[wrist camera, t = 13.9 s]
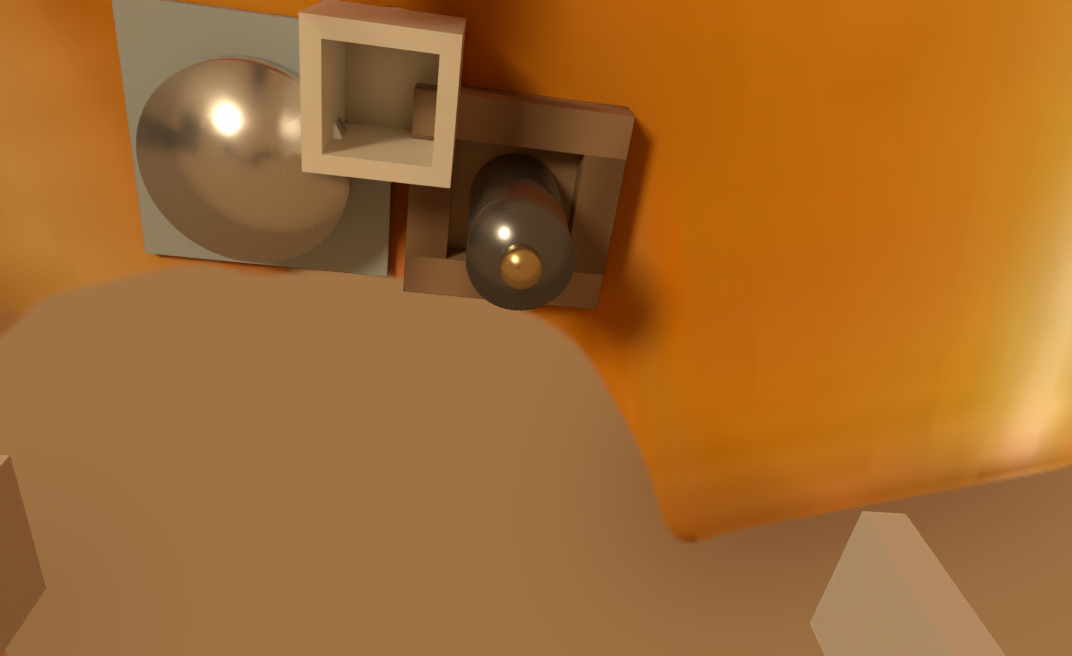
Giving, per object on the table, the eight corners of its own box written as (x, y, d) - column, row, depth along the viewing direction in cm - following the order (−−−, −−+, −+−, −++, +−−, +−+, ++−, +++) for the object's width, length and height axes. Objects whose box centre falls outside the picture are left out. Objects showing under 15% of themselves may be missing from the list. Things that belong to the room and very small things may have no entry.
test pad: (161, 240, 35) (149, 252, 33) (137, 40, 30) (121, 46, 29) (353, 259, 36) (348, 271, 34) (356, 69, 31) (350, 75, 30)
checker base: (149, 249, 37) (145, 253, 36) (116, -8, 31) (111, -7, 31) (388, 272, 38) (386, 276, 38) (398, 31, 33) (396, 32, 32)
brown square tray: (407, 274, 38) (403, 291, 37) (417, 80, 34) (414, 88, 32) (592, 292, 40) (596, 309, 38) (627, 107, 35) (635, 117, 33)
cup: (329, 134, 35) (301, 171, 29) (329, -3, 32) (298, 12, 26) (455, 148, 35) (450, 188, 30) (466, 16, 32) (462, 34, 27)
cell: (467, 233, 37) (461, 314, 29) (474, 148, 35) (469, 212, 27) (552, 241, 37) (568, 323, 30) (564, 157, 35) (585, 223, 28)
